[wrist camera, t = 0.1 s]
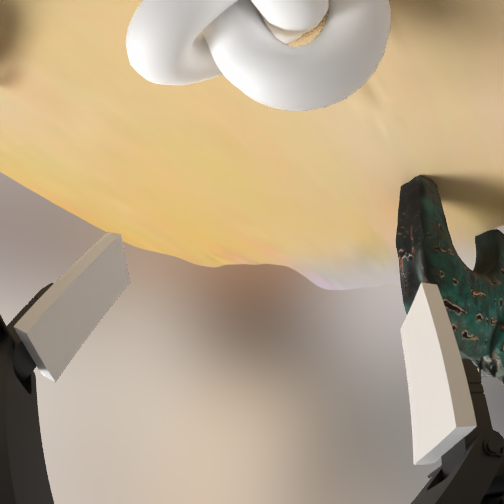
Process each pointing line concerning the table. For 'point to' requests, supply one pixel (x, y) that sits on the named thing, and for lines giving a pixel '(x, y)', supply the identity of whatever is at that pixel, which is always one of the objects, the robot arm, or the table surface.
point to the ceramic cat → (453, 275)
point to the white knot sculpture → (262, 46)
